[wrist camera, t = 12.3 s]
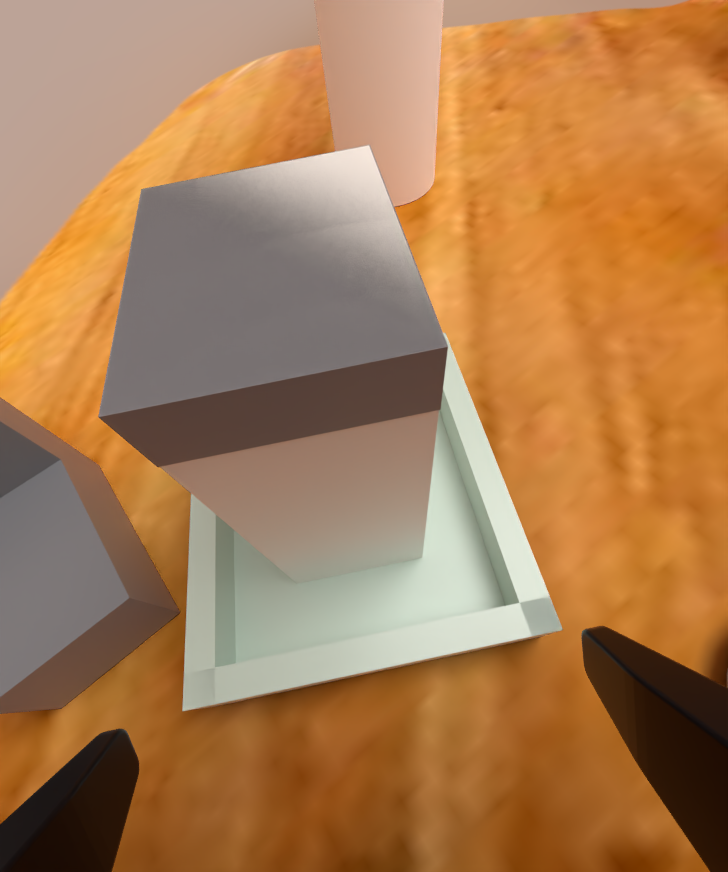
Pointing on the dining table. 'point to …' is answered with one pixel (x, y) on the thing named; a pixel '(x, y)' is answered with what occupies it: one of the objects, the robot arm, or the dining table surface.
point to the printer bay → (65, 571)
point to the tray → (368, 586)
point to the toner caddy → (284, 360)
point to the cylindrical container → (385, 85)
